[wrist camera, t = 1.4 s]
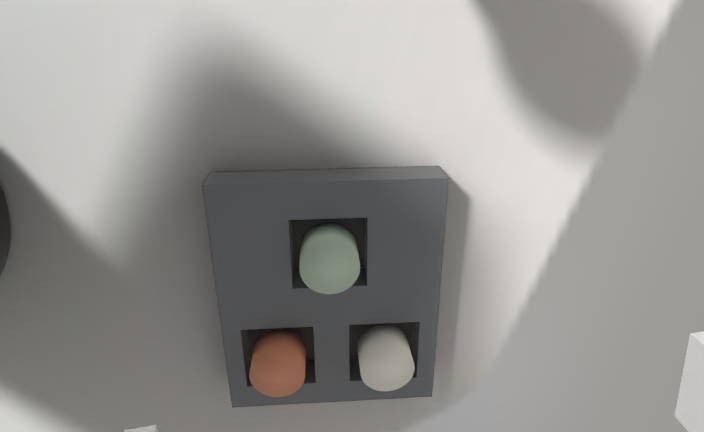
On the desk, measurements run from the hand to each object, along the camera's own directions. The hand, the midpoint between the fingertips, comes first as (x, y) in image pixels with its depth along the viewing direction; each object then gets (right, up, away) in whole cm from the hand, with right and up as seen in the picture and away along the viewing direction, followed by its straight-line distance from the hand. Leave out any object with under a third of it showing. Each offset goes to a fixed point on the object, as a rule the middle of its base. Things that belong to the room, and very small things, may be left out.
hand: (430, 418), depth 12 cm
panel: (-3, +1, +16) cm, 16 cm away
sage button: (-3, +3, +14) cm, 14 cm away
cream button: (0, -3, +16) cm, 17 cm away
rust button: (-6, -3, +16) cm, 17 cm away
